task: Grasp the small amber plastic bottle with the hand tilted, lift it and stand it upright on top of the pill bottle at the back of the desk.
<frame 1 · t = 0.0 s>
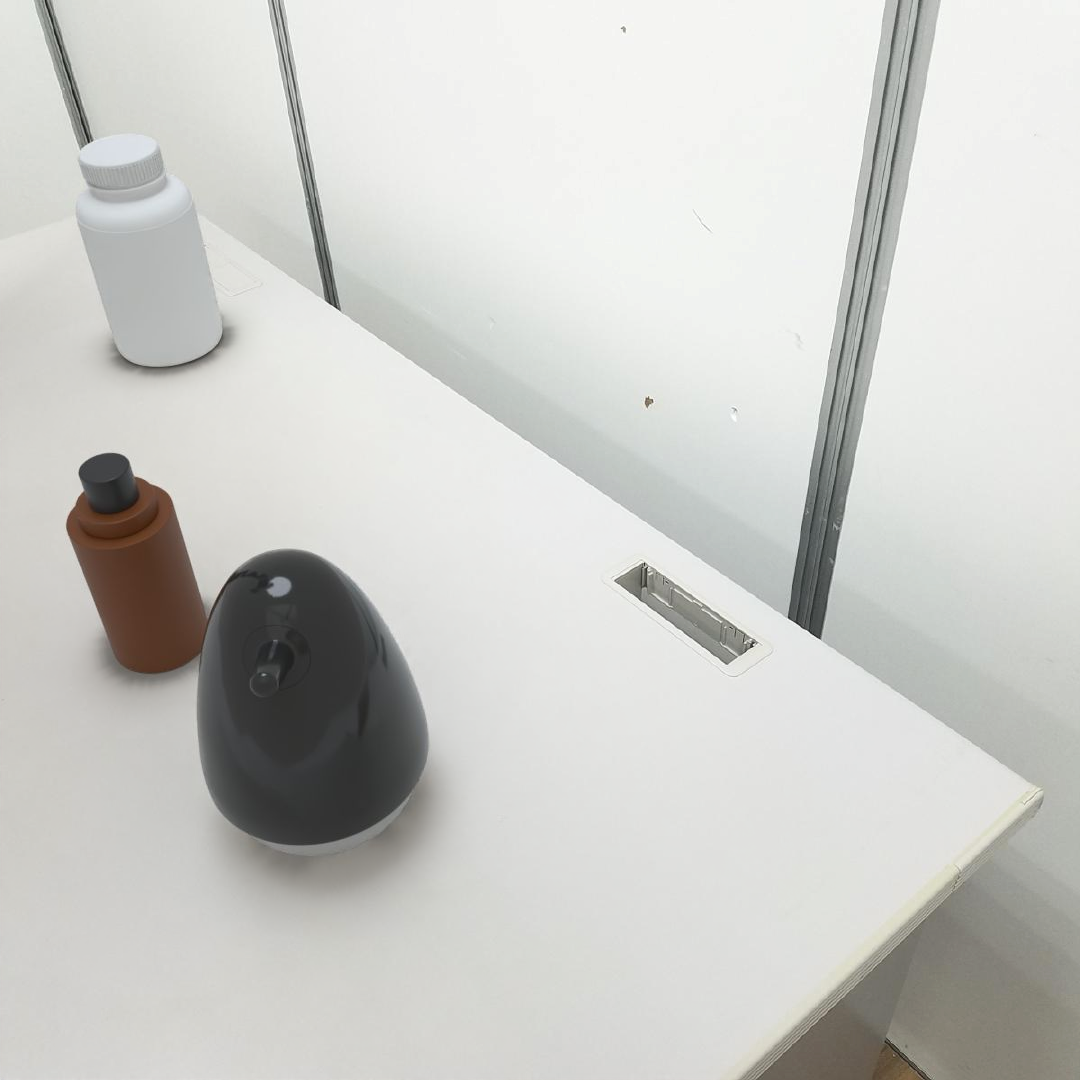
amber bottle: (162, 638, 63), on the table
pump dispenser: (329, 801, 55), on the table
pill bottle: (171, 343, 86), on the table
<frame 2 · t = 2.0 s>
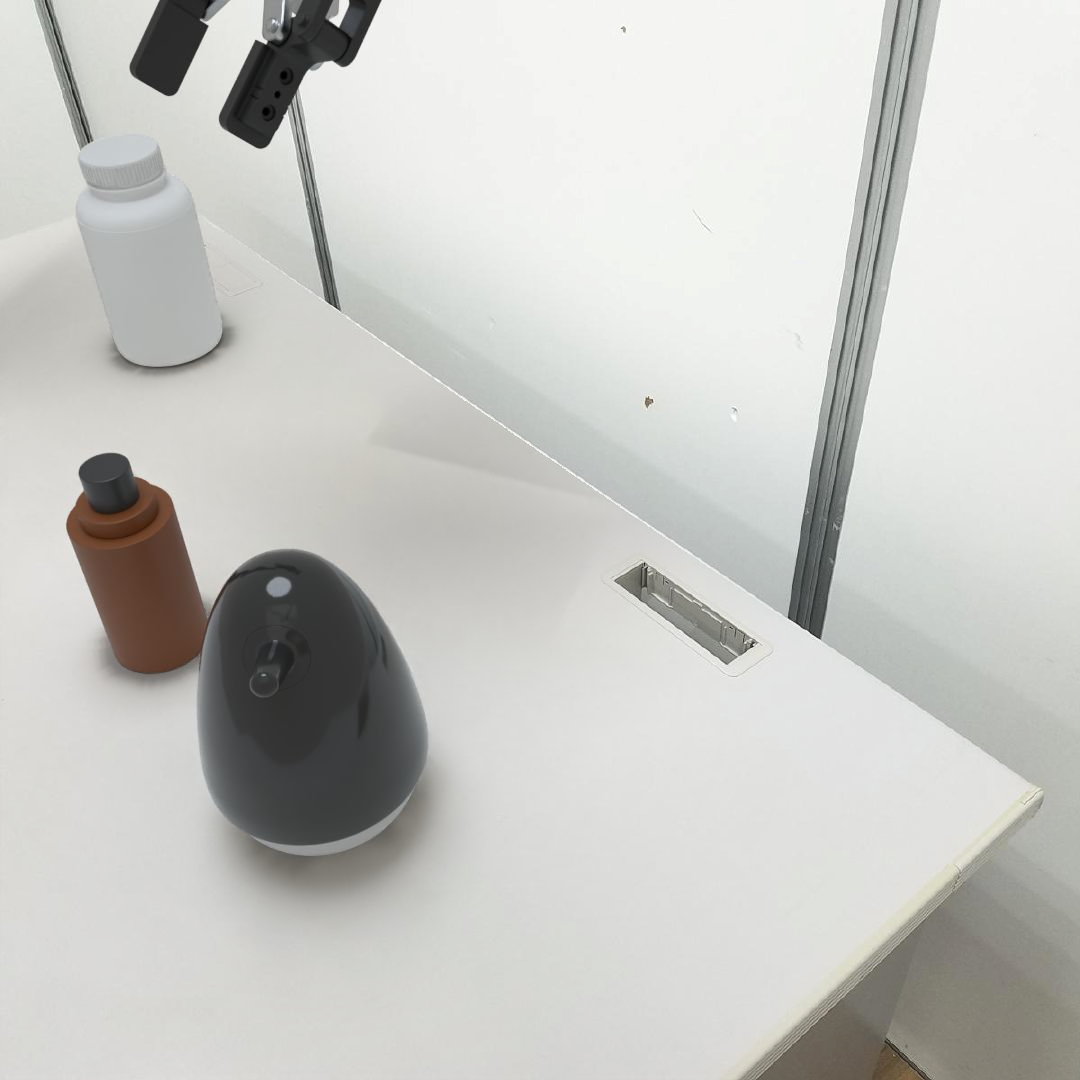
hand: (193, 111, 50), 27 cm above the table, tool tilted 40°, fingers open, 8 cm apart
nothing on the table moved.
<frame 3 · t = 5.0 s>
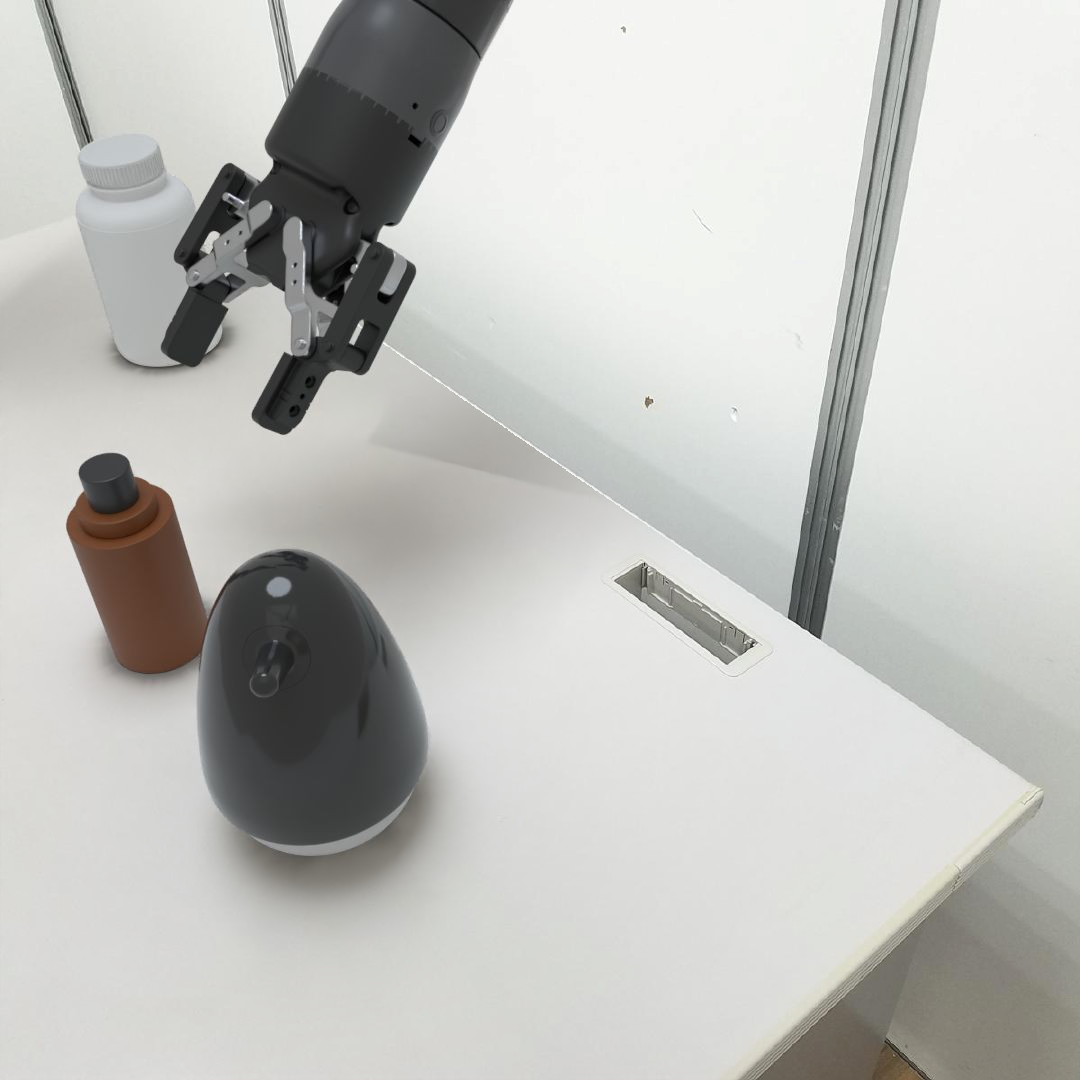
hand: (221, 393, 58), 13 cm above the table, tool tilted 45°, fingers open, 8 cm apart
nothing on the table moved.
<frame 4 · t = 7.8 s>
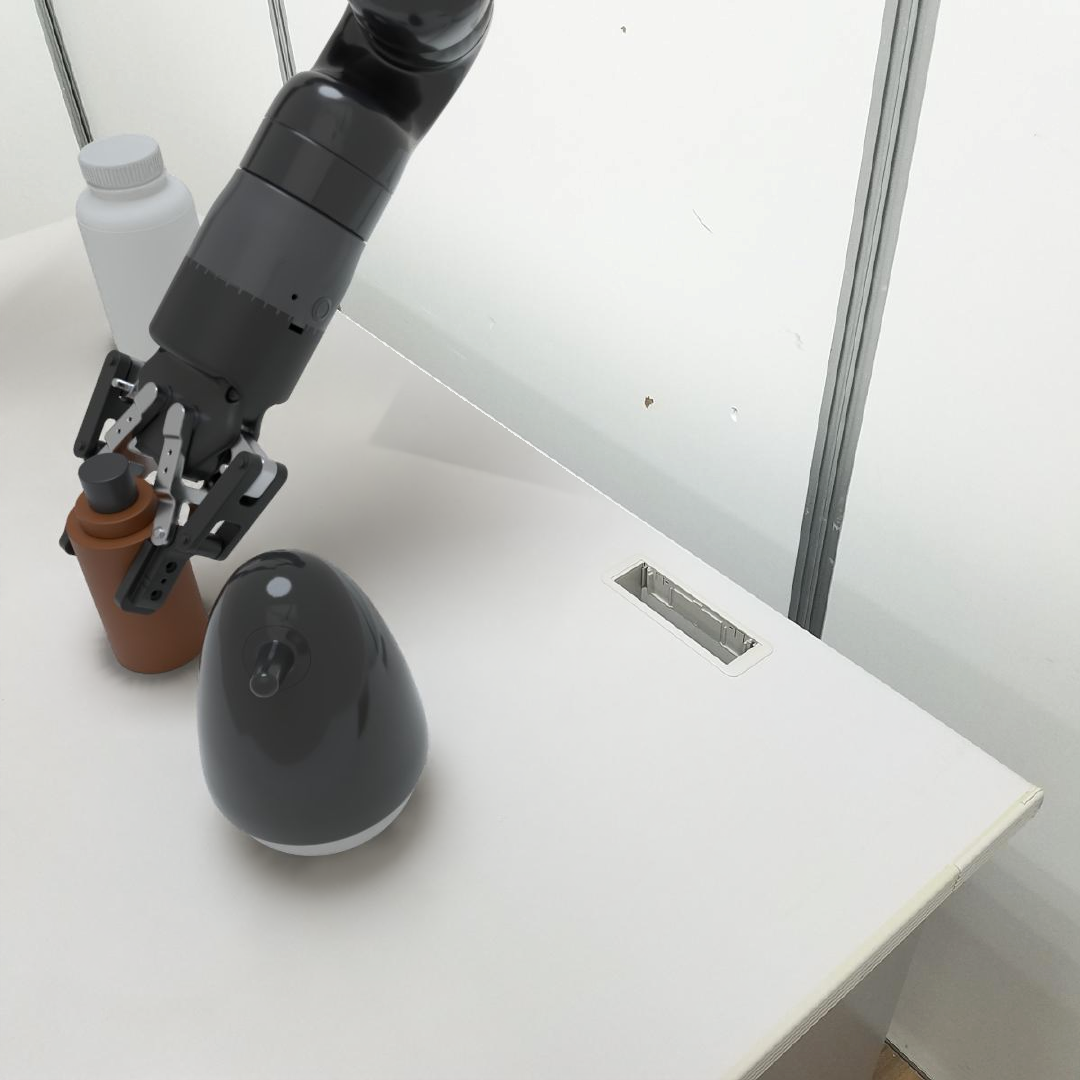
hand: (104, 580, 58), 6 cm above the table, tool tilted 45°, fingers closed on amber bottle, 5 cm apart
amber bottle: (162, 638, 63), on the table, touching gripper
everything else where it was.
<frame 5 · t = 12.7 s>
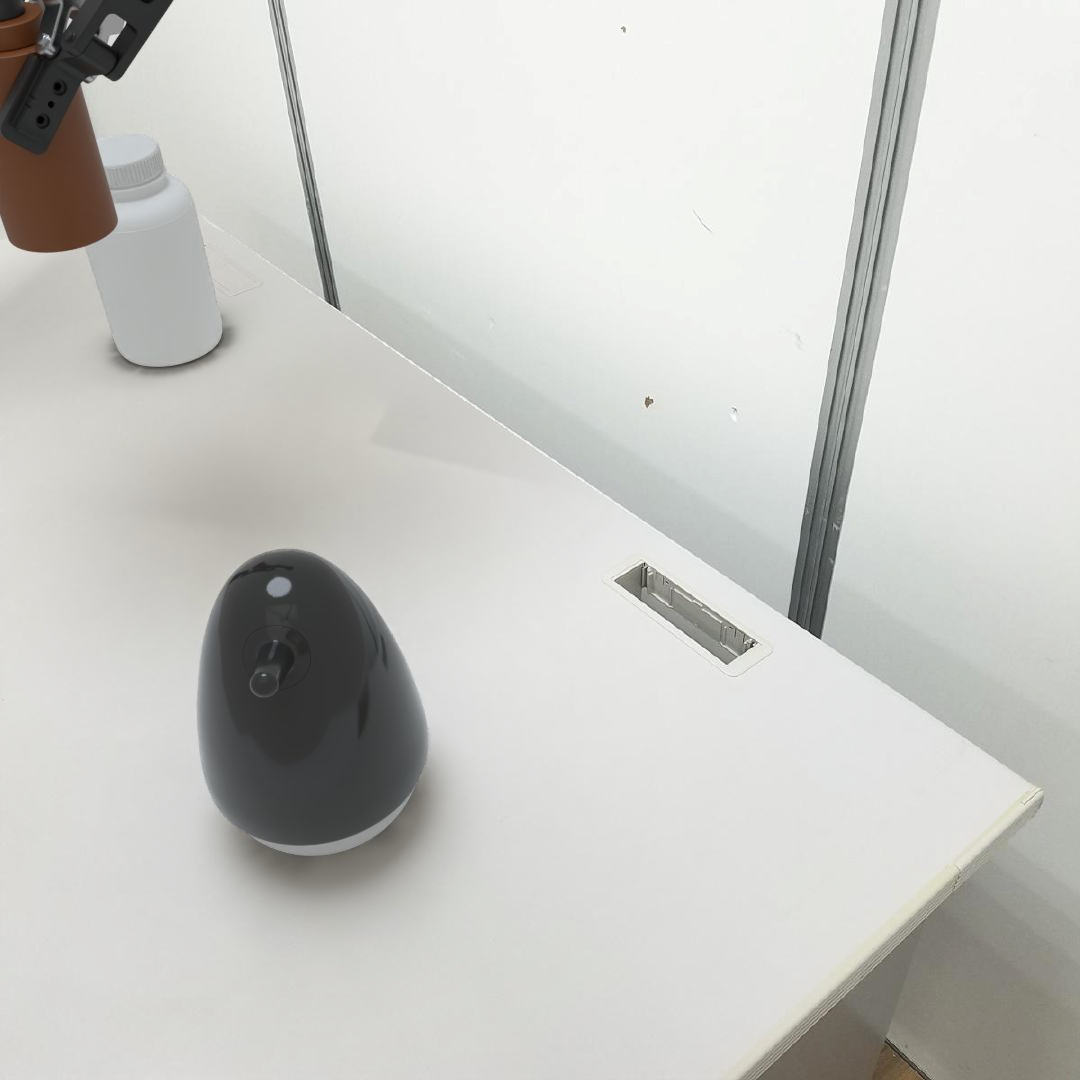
amber bottle: (63, 227, 56), point 20 cm above the table, touching gripper
everything else where it was.
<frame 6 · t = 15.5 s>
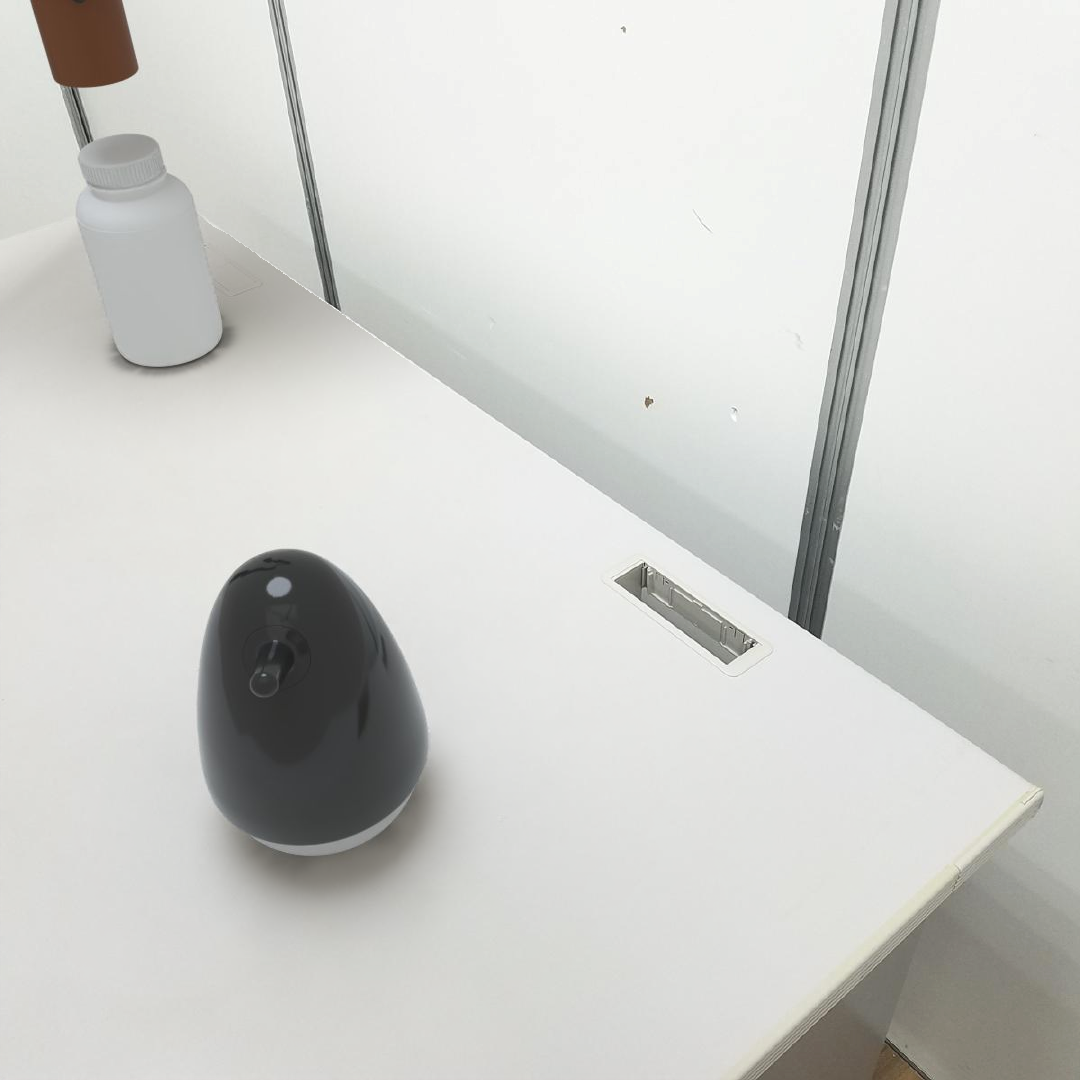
amber bottle: (96, 72, 72), point 20 cm above the table, touching gripper
everything else where it was.
when the fingers open (21 cm above the table, at t = 17.6 s): amber bottle stays where it is, resting on pill bottle.
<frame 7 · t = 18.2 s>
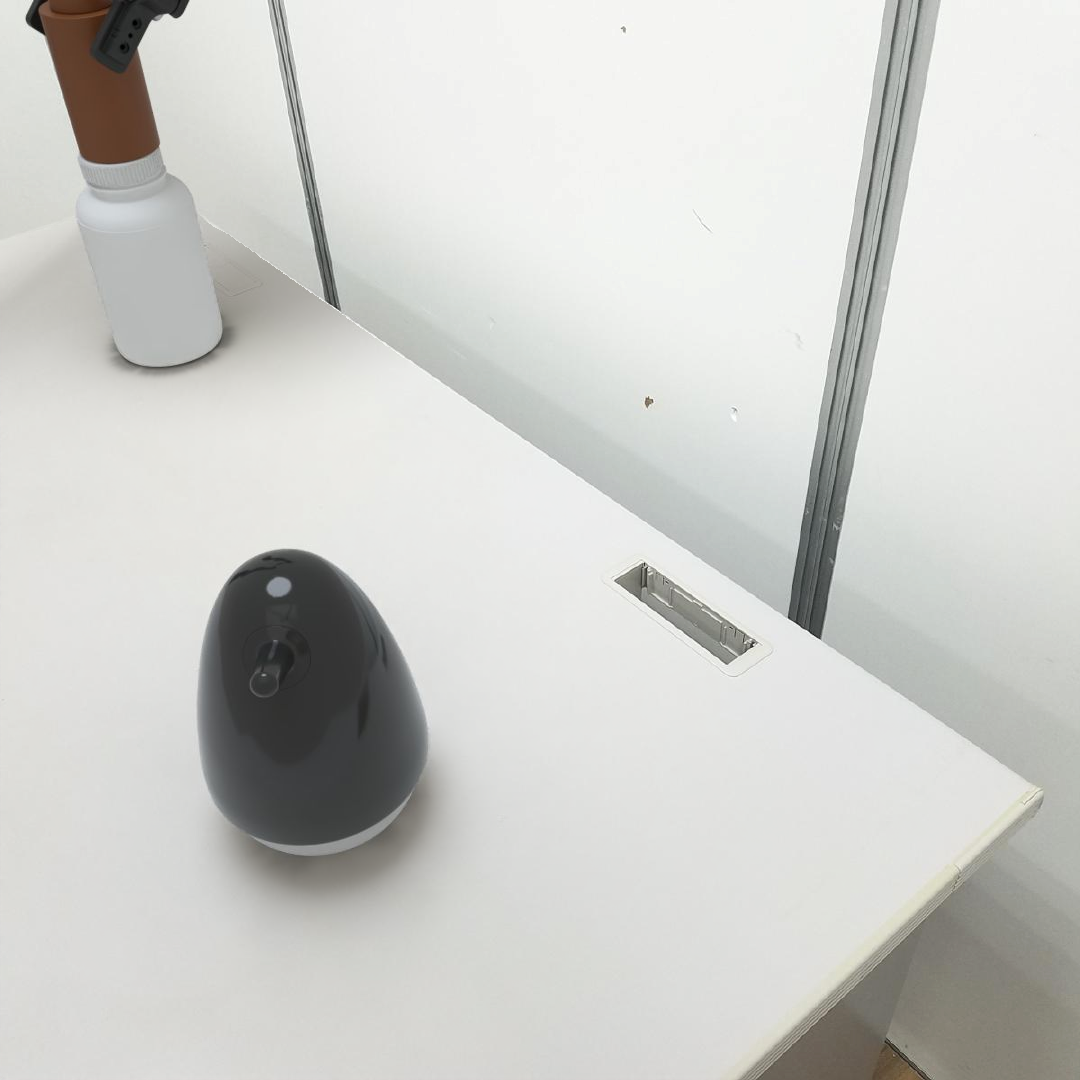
hand: (71, 48, 71), 22 cm above the table, tool tilted 45°, fingers open, 8 cm apart
amber bottle: (120, 147, 76), point 15 cm above the table, touching pill bottle
pill bottle: (171, 343, 86), on the table, touching amber bottle
everything else where it was.
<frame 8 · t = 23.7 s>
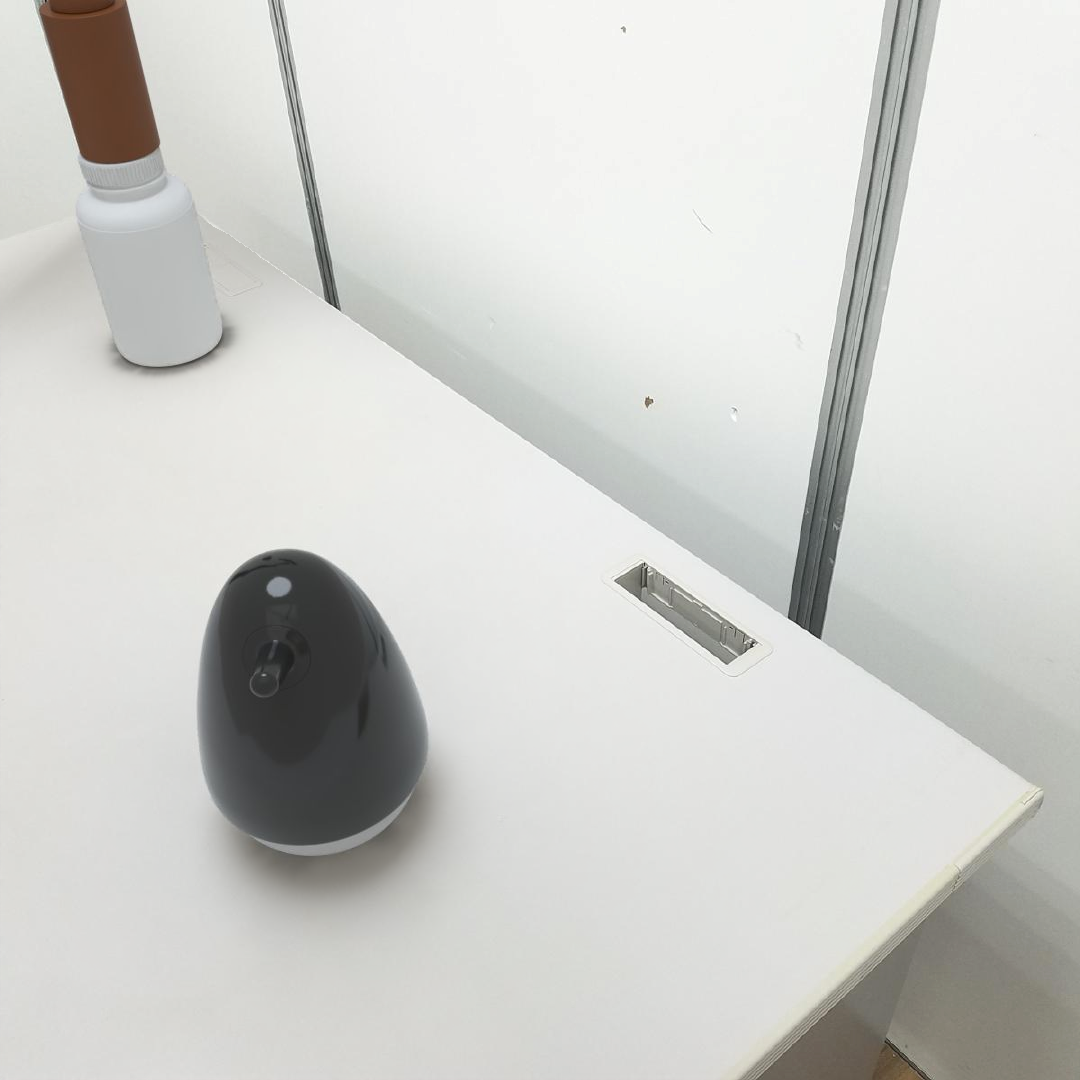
nothing on the table moved.
at the end: amber bottle 0.1 cm off-centre on the pill bottle, point 15.2 cm above the pill bottle's base; amber bottle tilted 0°; the gripper is holding nothing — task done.
